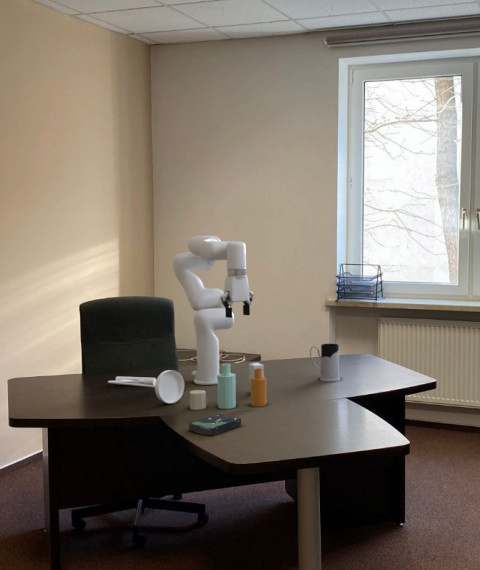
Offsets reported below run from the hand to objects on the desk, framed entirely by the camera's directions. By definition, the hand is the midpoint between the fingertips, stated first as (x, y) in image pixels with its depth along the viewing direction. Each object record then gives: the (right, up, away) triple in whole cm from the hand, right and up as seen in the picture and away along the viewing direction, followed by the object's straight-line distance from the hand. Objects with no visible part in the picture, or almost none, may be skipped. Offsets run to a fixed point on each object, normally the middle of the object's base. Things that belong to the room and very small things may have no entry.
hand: (237, 316), depth 292 cm
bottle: (-3, -33, -17) cm, 37 cm away
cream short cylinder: (-13, -33, -18) cm, 40 cm away
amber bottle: (+9, -33, -15) cm, 37 cm away
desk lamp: (-37, -31, +7) cm, 49 cm away
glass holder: (+36, -29, +30) cm, 55 cm away
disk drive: (-4, -36, -46) cm, 58 cm away
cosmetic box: (+7, -31, +2) cm, 32 cm away
